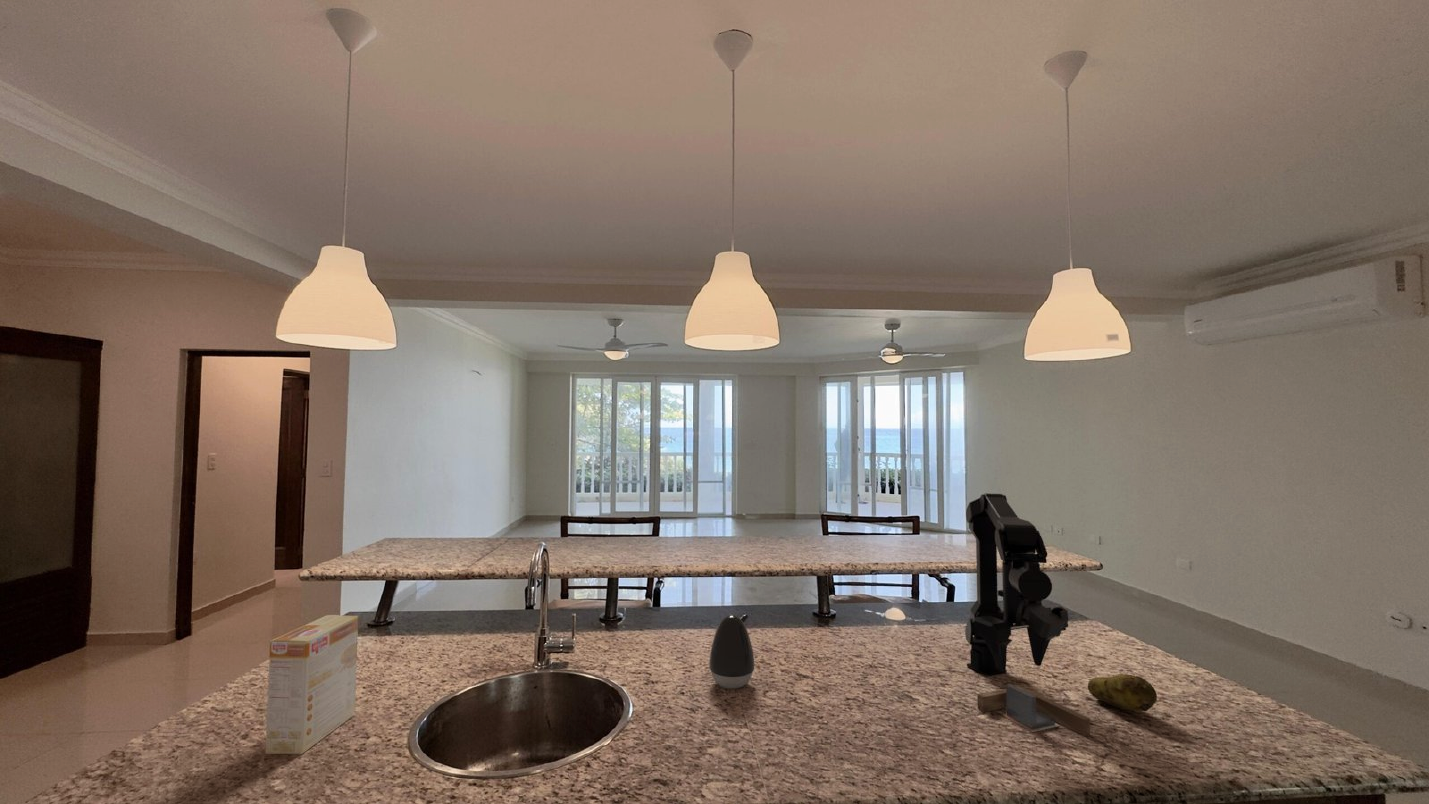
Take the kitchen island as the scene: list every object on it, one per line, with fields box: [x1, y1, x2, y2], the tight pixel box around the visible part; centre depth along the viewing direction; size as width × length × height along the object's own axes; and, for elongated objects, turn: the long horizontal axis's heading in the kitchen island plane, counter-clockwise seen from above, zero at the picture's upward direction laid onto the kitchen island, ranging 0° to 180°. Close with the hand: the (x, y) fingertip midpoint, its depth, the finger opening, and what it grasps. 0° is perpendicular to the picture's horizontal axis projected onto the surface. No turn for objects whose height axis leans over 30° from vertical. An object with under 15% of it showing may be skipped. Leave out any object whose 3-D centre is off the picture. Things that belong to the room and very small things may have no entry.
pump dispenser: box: [708, 614, 755, 690], centre depth 134 cm, size 10×10×15 cm
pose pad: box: [1002, 713, 1060, 733], centre depth 117 cm, size 7×7×1 cm
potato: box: [1087, 673, 1158, 712], centre depth 122 cm, size 8×13×8 cm, turn 0°
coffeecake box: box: [264, 614, 359, 755], centre depth 111 cm, size 15×7×20 cm, turn 178°
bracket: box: [1005, 683, 1056, 730], centre depth 117 cm, size 6×6×6 cm
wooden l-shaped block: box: [976, 684, 1091, 737], centre depth 117 cm, size 12×16×3 cm
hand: (1020, 668), depth 117 cm, fingers open, 9 cm apart
